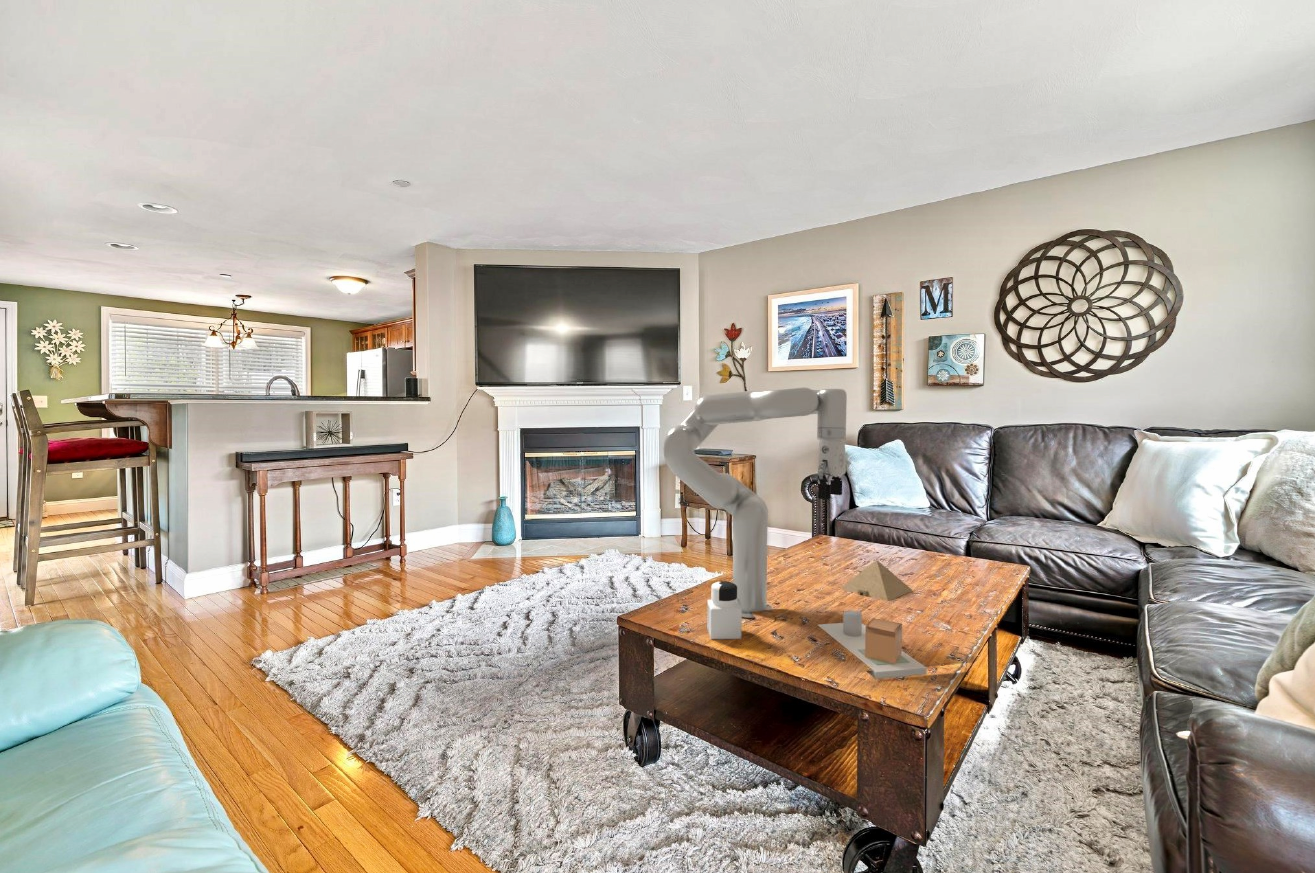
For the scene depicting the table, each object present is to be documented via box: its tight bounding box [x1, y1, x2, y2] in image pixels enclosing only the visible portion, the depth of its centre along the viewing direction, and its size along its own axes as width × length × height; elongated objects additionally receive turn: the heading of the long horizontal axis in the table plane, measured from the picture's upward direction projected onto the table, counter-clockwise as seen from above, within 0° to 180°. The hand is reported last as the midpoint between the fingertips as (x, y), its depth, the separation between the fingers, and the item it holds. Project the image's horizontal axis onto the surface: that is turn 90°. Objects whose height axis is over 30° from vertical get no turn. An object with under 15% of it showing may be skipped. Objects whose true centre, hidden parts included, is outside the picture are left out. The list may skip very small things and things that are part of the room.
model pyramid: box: [839, 559, 913, 602], centre depth 188 cm, size 17×17×10 cm
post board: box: [817, 609, 928, 680], centre depth 141 cm, size 12×28×6 cm, turn 10°
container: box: [706, 580, 743, 640], centre depth 151 cm, size 8×8×13 cm
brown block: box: [865, 617, 903, 664], centre depth 134 cm, size 6×6×7 cm
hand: (830, 496), depth 163 cm, fingers open, 9 cm apart
